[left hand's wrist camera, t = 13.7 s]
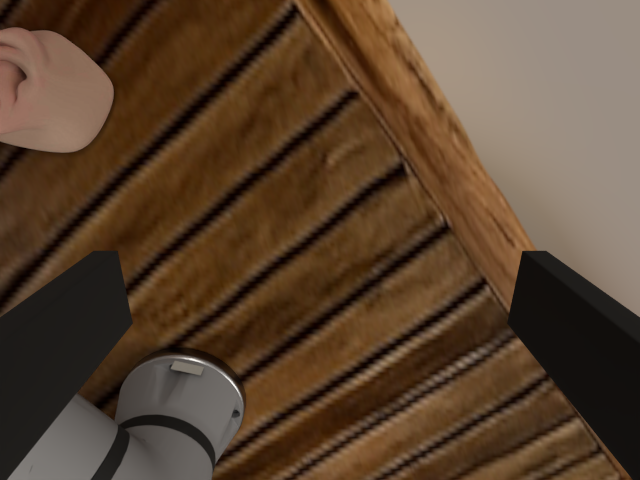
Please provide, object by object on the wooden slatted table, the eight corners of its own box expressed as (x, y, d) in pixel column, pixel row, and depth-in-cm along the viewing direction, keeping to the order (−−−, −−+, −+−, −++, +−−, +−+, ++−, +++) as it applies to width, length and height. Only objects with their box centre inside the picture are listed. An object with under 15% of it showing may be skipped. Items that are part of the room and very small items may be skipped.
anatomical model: (97, 52, 31) (79, 183, 35) (120, 57, 35) (101, 174, 39) (-78, -13, 30) (-77, 131, 33) (-34, -1, 33) (-38, 128, 37)
